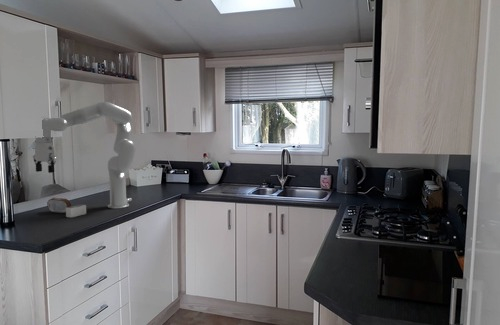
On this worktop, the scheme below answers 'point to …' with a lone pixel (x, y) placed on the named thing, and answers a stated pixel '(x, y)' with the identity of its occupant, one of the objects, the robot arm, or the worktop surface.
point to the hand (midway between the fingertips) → (45, 171)
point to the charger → (75, 210)
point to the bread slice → (58, 205)
